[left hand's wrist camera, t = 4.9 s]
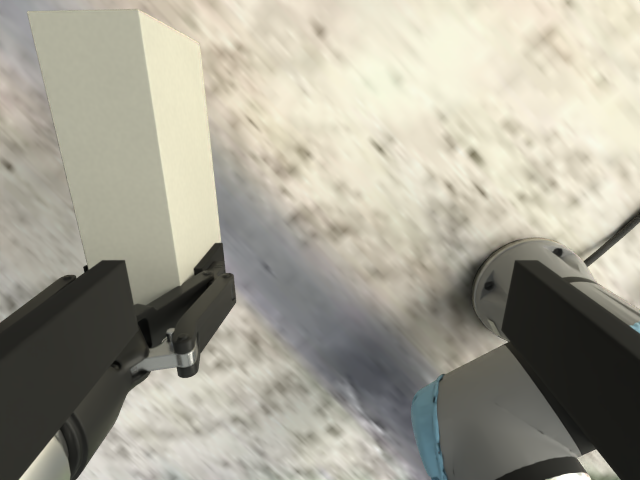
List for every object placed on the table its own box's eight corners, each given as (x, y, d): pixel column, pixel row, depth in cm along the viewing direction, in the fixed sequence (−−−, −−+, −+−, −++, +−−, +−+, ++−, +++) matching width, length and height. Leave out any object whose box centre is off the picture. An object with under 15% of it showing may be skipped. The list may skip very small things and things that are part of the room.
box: (124, 44, 33) (26, 11, 22) (199, 43, 33) (138, 8, 22) (163, 278, 41) (104, 338, 30) (225, 277, 41) (188, 338, 30)
